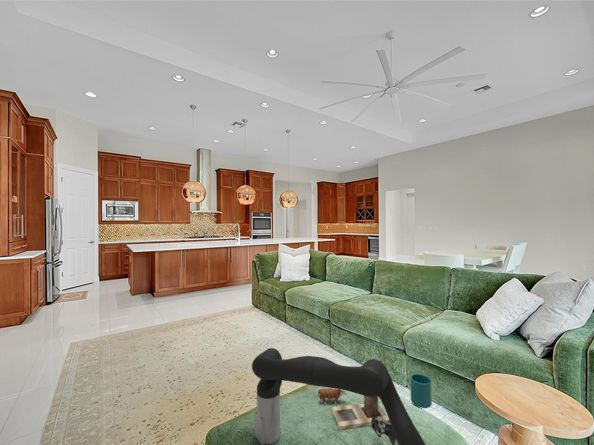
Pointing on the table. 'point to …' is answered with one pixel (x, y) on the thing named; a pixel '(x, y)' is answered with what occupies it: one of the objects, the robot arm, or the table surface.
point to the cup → (421, 390)
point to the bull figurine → (330, 394)
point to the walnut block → (370, 406)
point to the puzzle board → (354, 416)
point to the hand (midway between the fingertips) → (382, 412)
